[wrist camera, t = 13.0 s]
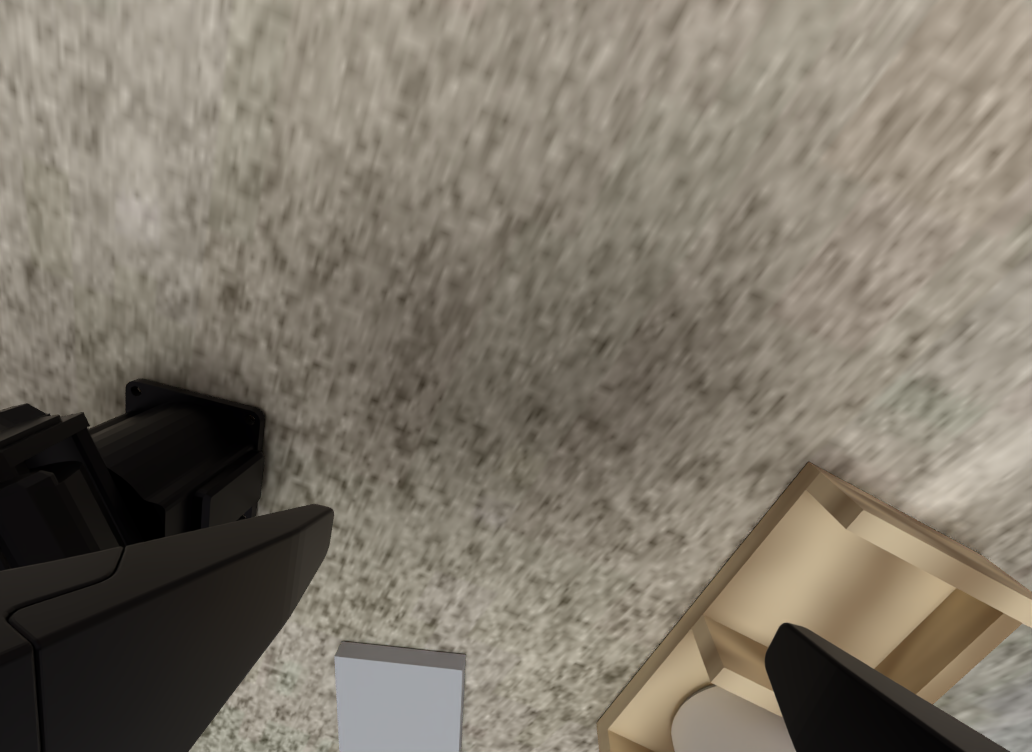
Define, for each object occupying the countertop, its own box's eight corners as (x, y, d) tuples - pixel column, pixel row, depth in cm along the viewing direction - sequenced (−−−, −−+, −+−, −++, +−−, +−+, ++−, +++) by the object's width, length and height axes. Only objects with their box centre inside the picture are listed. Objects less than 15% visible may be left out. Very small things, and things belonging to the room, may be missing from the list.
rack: (596, 723, 27) (604, 802, 24) (808, 461, 22) (863, 509, 18) (743, 792, 28) (774, 879, 24) (982, 556, 23) (1070, 620, 19)
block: (347, 768, 30) (341, 786, 29) (342, 641, 27) (334, 656, 26) (459, 782, 29) (456, 800, 28) (465, 654, 27) (462, 670, 26)
